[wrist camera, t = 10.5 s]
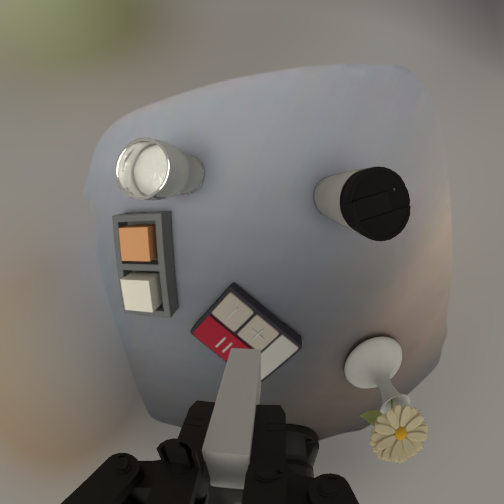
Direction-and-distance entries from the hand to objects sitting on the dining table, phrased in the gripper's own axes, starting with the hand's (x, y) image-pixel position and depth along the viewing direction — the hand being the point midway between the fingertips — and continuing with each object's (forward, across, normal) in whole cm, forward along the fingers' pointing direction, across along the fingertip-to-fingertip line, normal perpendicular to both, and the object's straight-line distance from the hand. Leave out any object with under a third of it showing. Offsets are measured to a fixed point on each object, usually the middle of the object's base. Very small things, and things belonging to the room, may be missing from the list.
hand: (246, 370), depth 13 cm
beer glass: (+30, +12, -12) cm, 34 cm away
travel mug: (+30, -10, -8) cm, 32 cm away
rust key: (+28, +19, -2) cm, 34 cm away
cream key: (+27, +19, +6) cm, 34 cm away
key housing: (+29, +19, +2) cm, 35 cm away
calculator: (+30, +3, +14) cm, 33 cm away
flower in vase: (+30, -19, +20) cm, 40 cm away
